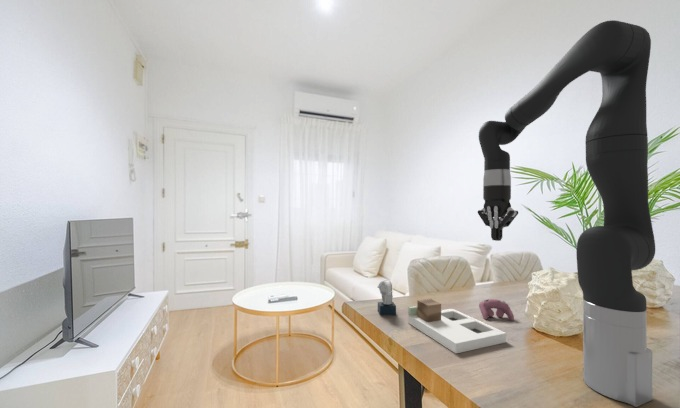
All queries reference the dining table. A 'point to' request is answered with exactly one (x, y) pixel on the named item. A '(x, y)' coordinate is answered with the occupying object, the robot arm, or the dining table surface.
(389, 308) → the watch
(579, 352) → the dining table surface
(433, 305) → the walnut block
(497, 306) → the video game controller
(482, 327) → the board
